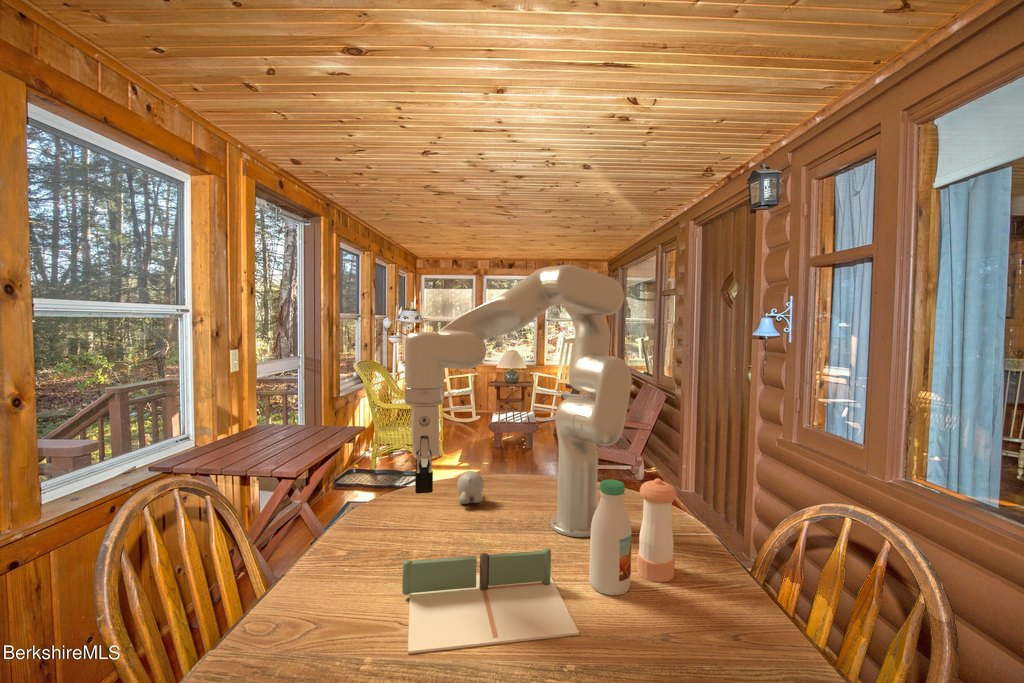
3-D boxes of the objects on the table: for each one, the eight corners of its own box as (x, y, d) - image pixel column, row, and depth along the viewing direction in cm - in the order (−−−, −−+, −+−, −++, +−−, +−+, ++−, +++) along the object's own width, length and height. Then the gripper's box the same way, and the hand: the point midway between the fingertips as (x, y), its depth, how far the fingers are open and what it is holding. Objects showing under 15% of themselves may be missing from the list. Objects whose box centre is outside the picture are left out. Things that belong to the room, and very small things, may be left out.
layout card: (546, 570, 98) (547, 568, 98) (578, 634, 79) (579, 631, 79) (410, 582, 93) (410, 579, 93) (408, 654, 74) (408, 650, 74)
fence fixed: (549, 582, 94) (549, 547, 94) (551, 586, 93) (552, 551, 92) (478, 588, 92) (479, 553, 91) (480, 593, 90) (480, 557, 90)
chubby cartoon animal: (481, 504, 139) (481, 473, 142) (485, 503, 128) (484, 469, 131) (455, 504, 138) (456, 473, 141) (457, 503, 127) (457, 470, 130)
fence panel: (475, 583, 91) (475, 554, 91) (476, 588, 90) (476, 558, 90) (402, 590, 89) (402, 560, 89) (402, 595, 87) (402, 564, 87)
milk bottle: (606, 601, 88) (609, 492, 87) (581, 580, 95) (583, 479, 94) (638, 590, 92) (642, 486, 91) (612, 571, 99) (615, 473, 98)
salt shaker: (664, 586, 93) (667, 488, 92) (630, 572, 98) (632, 478, 97) (680, 572, 99) (683, 479, 98) (647, 559, 104) (649, 470, 103)
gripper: (446, 403, 87) (445, 500, 88) (441, 388, 104) (441, 470, 105) (403, 404, 86) (402, 503, 87) (405, 389, 103) (405, 471, 104)
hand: (423, 484), depth 96 cm, fingers open, 7 cm apart
